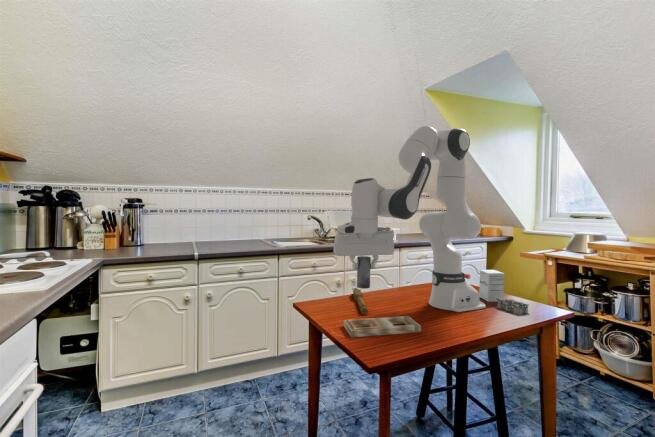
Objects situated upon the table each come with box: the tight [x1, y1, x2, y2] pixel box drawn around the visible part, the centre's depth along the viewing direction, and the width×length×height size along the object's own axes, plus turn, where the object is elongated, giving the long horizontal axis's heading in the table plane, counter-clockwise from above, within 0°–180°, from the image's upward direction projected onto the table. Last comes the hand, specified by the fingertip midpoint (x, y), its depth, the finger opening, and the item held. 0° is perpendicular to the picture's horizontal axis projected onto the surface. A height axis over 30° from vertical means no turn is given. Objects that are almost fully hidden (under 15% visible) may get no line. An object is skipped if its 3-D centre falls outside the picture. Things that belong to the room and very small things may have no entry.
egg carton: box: [497, 298, 530, 315], centre depth 136 cm, size 11×8×4 cm
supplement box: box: [478, 269, 505, 303], centre depth 150 cm, size 7×7×13 cm
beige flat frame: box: [343, 315, 422, 338], centre depth 115 cm, size 24×10×2 cm, turn 101°
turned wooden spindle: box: [352, 287, 369, 316], centre depth 144 cm, size 3×3×30 cm
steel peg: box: [356, 255, 372, 290], centre depth 113 cm, size 4×4×10 cm
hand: (363, 268), depth 113 cm, fingers closed on steel peg, 4 cm apart
